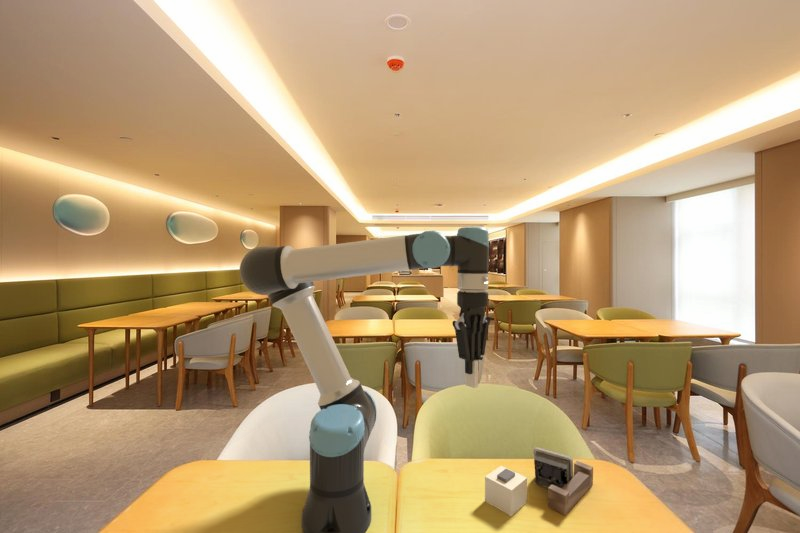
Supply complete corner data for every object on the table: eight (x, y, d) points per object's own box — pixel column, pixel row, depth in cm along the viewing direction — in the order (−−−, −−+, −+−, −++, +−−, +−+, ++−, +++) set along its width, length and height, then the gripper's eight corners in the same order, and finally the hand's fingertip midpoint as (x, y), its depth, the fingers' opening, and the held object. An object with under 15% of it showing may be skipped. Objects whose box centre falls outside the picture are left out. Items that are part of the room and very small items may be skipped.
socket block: (484, 501, 88) (485, 473, 88) (500, 489, 93) (501, 462, 92) (511, 516, 83) (511, 486, 83) (526, 502, 87) (527, 474, 87)
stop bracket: (547, 506, 86) (548, 487, 86) (576, 477, 97) (577, 460, 97) (565, 515, 83) (565, 495, 83) (592, 484, 95) (593, 466, 94)
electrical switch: (574, 488, 93) (574, 453, 92) (570, 501, 89) (570, 464, 88) (535, 475, 98) (535, 442, 97) (530, 487, 94) (530, 453, 93)
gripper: (469, 293, 83) (468, 396, 84) (500, 290, 92) (499, 383, 93) (443, 291, 89) (442, 388, 89) (475, 288, 98) (474, 376, 98)
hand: (471, 385), depth 91 cm, fingers closed
